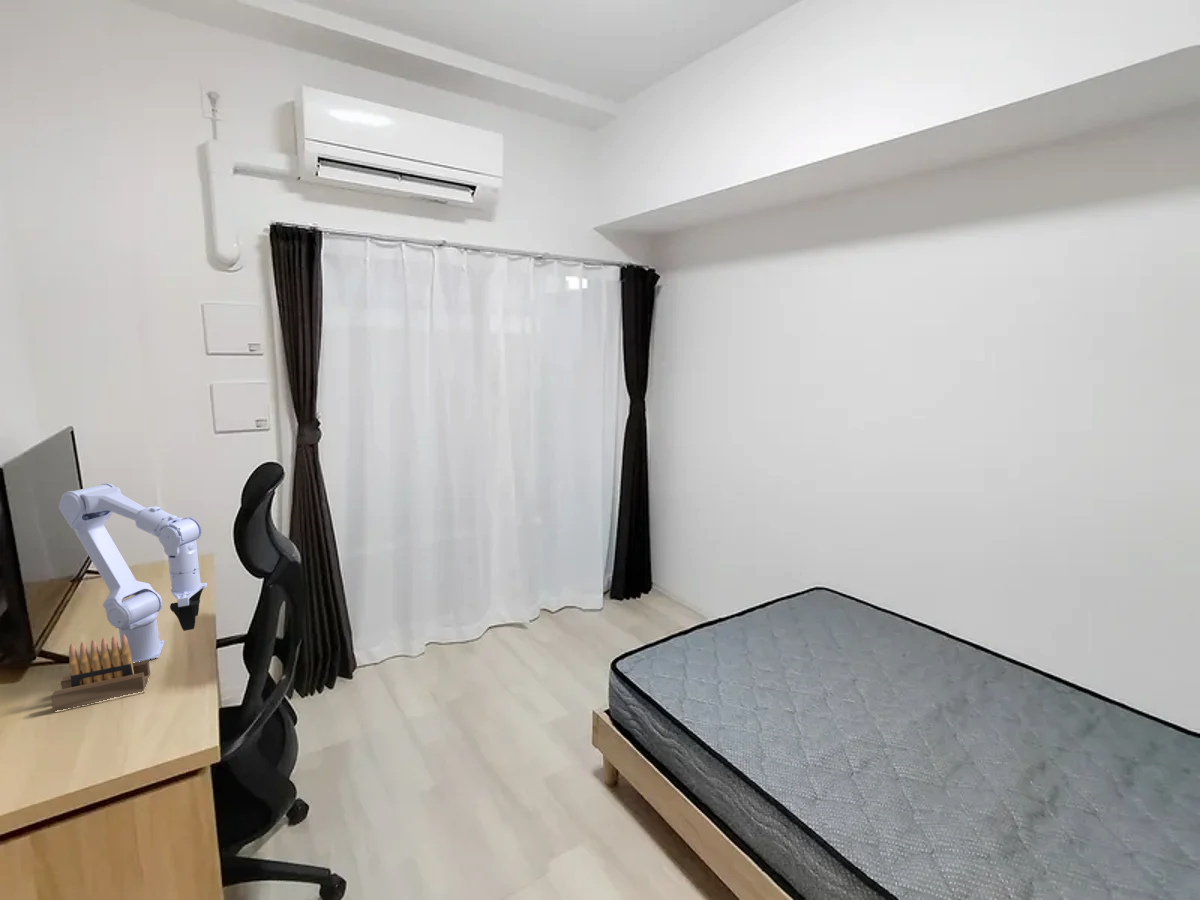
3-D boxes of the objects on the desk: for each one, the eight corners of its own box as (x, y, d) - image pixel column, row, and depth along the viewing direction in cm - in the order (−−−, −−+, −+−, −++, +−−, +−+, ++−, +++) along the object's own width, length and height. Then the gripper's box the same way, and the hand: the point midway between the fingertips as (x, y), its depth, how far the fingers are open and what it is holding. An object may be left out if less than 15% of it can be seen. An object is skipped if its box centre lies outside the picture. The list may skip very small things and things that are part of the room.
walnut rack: (66, 693, 127) (63, 676, 126) (150, 675, 134) (148, 659, 134) (54, 713, 120) (51, 695, 119) (144, 693, 127) (141, 676, 127)
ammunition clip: (136, 680, 130) (129, 631, 128) (134, 684, 129) (128, 635, 127) (74, 693, 125) (66, 643, 123) (72, 698, 124) (64, 646, 122)
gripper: (201, 577, 132) (207, 631, 134) (207, 557, 144) (213, 607, 146) (163, 582, 128) (170, 638, 131) (173, 561, 141) (179, 613, 143)
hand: (190, 622), depth 138 cm, fingers open, 7 cm apart
